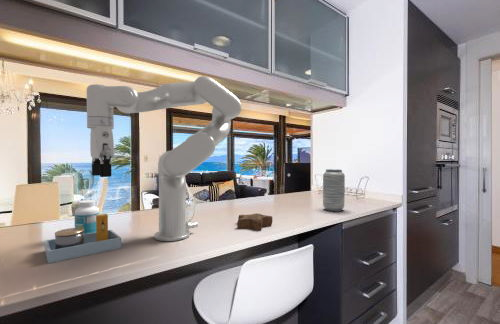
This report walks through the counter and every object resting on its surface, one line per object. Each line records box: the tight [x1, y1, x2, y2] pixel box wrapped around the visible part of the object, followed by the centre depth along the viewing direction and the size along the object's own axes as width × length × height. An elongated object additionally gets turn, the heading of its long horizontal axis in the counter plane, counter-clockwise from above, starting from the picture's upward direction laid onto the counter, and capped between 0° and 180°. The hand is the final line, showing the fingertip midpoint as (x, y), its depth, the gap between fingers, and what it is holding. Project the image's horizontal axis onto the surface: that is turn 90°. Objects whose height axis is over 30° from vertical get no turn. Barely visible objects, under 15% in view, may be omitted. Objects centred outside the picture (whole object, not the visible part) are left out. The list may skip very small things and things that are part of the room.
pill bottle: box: [74, 199, 100, 234], centre depth 89 cm, size 8×7×14 cm
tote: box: [44, 229, 122, 264], centre depth 78 cm, size 18×12×4 cm, turn 132°
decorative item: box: [236, 212, 273, 231], centre depth 108 cm, size 16×6×15 cm
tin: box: [54, 227, 84, 249], centre depth 75 cm, size 7×7×6 cm
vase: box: [322, 168, 346, 212], centre depth 143 cm, size 12×12×23 cm
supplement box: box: [96, 213, 109, 242], centre depth 81 cm, size 3×3×10 cm
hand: (101, 176), depth 83 cm, fingers open, 9 cm apart
